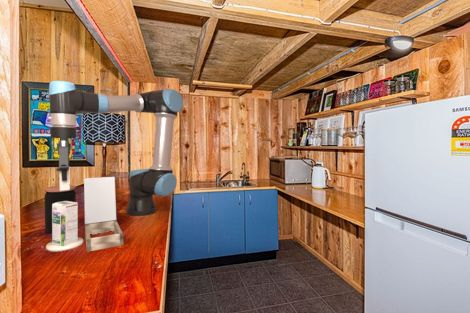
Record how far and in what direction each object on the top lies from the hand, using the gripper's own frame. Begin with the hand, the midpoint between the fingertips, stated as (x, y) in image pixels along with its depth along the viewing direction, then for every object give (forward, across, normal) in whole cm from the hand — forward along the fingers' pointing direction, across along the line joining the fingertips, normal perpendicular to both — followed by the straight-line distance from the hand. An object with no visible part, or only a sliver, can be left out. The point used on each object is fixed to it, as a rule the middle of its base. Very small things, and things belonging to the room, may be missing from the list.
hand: (65, 186), depth 89 cm
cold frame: (+21, +1, +11) cm, 24 cm away
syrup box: (+20, 0, -1) cm, 20 cm away
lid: (+8, -10, +12) cm, 18 cm away
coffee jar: (+21, -19, -3) cm, 28 cm away
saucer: (+21, 0, -1) cm, 21 cm away
